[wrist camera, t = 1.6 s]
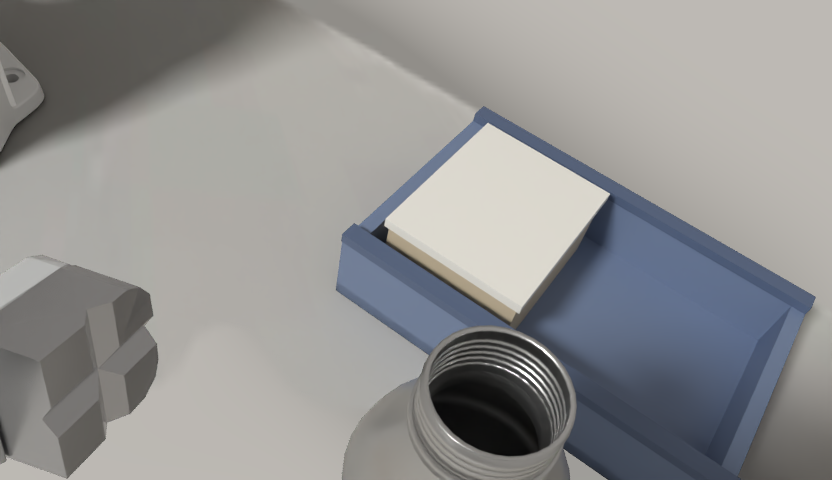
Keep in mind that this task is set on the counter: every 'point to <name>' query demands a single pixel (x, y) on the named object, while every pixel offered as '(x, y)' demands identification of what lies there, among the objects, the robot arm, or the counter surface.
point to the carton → (496, 223)
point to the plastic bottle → (471, 415)
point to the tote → (616, 326)
